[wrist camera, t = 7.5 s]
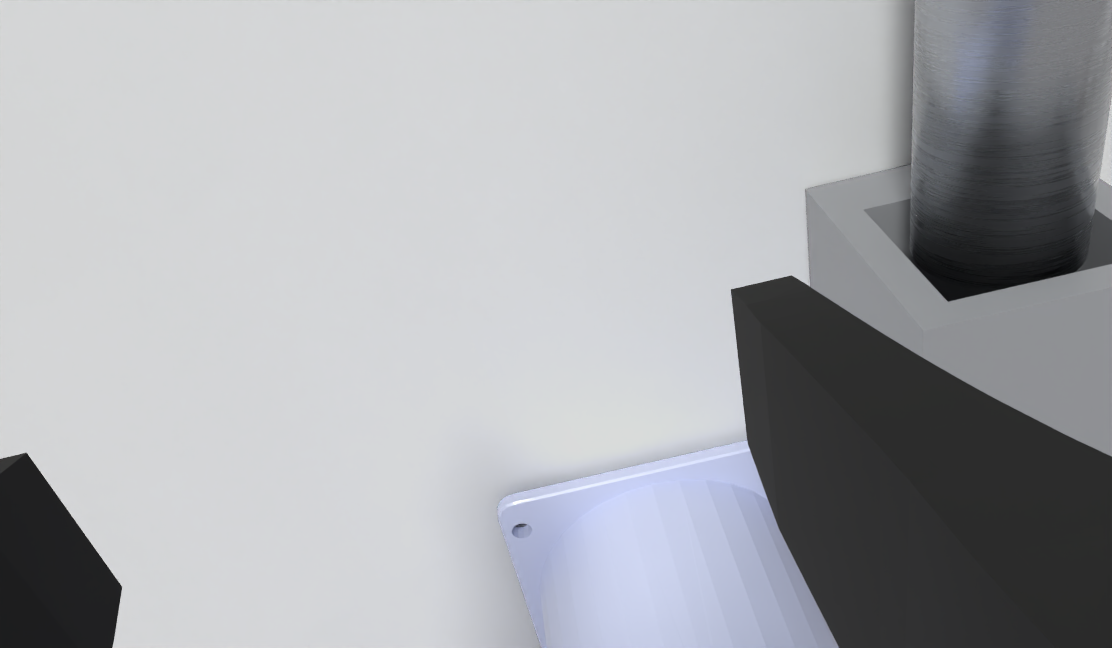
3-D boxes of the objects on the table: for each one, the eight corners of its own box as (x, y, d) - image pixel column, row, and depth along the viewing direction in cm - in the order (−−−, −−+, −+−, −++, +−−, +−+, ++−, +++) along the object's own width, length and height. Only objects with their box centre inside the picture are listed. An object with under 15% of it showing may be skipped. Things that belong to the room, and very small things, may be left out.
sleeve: (1010, 360, 23) (1161, 521, 18) (816, 405, 23) (914, 576, 18) (1034, 135, 19) (1226, 260, 15) (805, 189, 19) (923, 330, 15)
